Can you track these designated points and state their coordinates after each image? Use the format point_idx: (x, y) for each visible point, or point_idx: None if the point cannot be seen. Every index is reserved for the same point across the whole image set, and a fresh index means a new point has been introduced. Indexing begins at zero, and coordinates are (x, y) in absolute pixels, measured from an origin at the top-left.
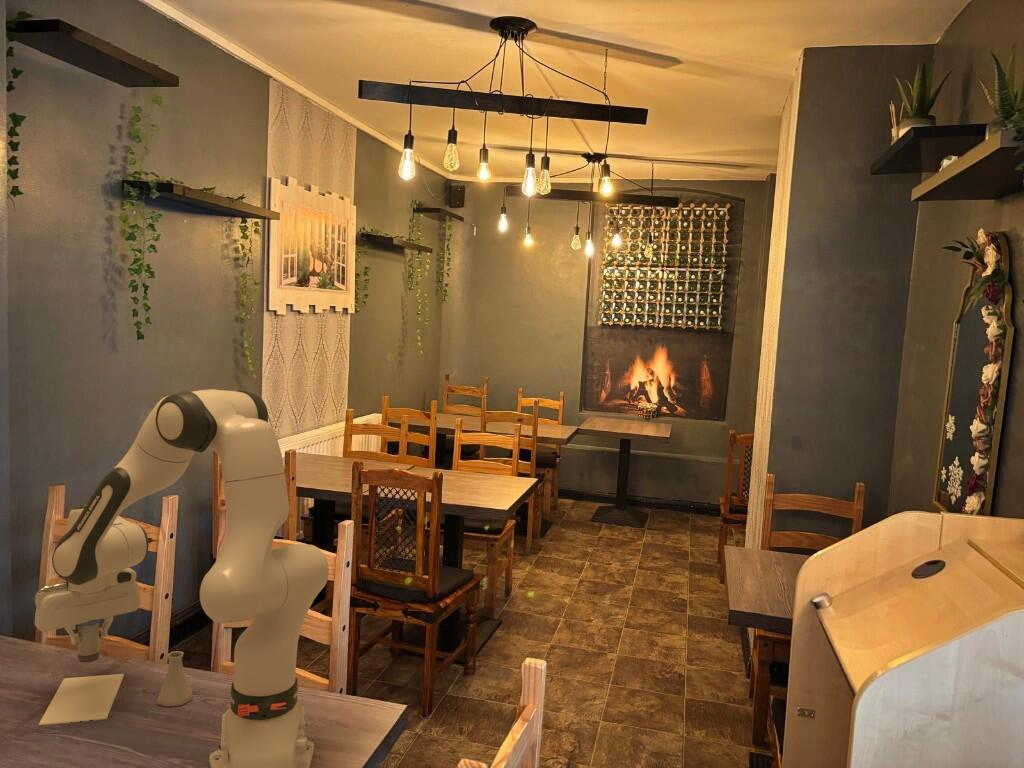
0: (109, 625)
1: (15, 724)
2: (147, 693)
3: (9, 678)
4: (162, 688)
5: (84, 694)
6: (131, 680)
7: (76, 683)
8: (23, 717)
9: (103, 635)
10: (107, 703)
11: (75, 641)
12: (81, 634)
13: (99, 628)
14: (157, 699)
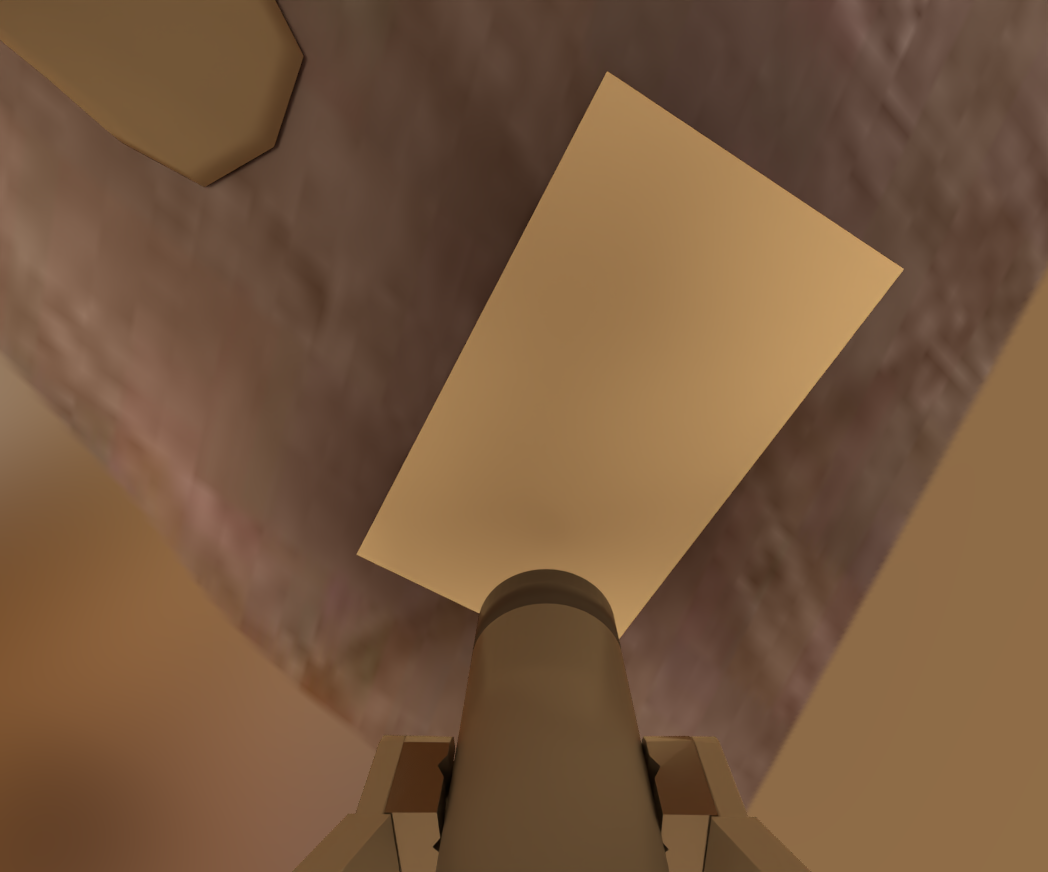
0: (316, 856)
1: (960, 366)
2: (312, 262)
3: (752, 794)
4: (205, 3)
5: (588, 456)
6: (344, 473)
7: None
8: (896, 416)
9: (417, 749)
10: (535, 268)
11: (708, 761)
12: (657, 831)
13: (425, 869)
14: (282, 94)
